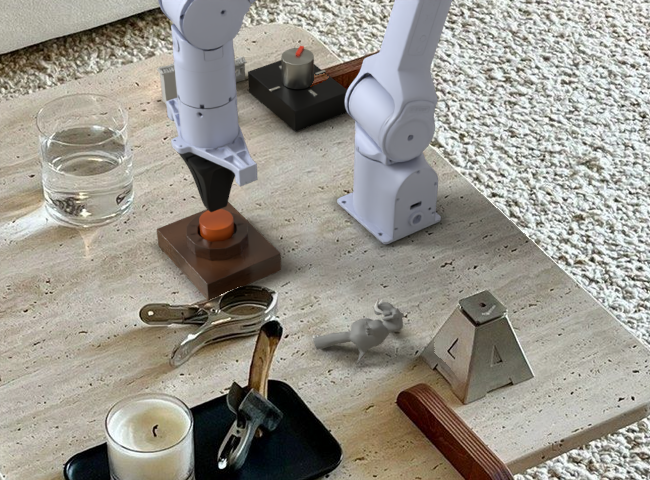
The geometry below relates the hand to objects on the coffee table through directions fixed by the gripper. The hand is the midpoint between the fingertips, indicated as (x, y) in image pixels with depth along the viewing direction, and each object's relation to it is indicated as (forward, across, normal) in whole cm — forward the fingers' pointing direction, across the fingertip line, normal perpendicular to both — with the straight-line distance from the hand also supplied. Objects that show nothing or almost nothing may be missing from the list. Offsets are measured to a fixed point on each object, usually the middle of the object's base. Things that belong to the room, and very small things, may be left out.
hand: (215, 206), depth 124 cm
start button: (+3, 0, 0) cm, 3 cm away
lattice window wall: (+7, -30, +15) cm, 34 cm away
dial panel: (+7, -21, +24) cm, 33 cm away
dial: (+4, -21, +24) cm, 32 cm away
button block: (+7, 0, 0) cm, 7 cm away
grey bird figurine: (+7, +21, +4) cm, 23 cm away
